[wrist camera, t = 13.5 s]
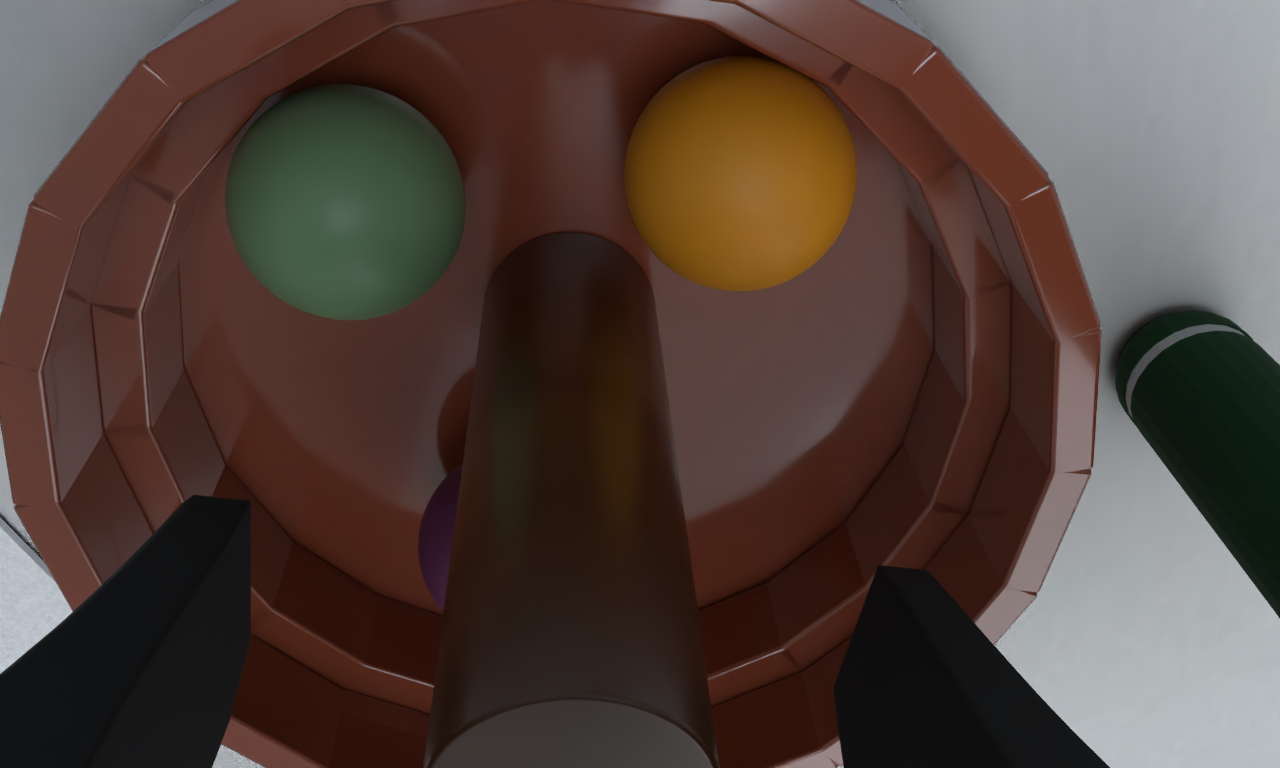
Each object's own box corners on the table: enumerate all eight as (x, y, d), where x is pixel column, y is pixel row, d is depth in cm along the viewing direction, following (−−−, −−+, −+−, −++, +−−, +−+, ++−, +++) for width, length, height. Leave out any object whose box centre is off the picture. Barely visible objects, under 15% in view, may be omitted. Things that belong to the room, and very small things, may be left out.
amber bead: (634, 346, 15) (543, 133, 15) (765, 299, 17) (686, 113, 17) (810, 258, 13) (704, 12, 13) (935, 218, 15) (843, 7, 15)
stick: (471, 366, 18) (400, 880, 10) (499, 215, 17) (444, 675, 9) (633, 394, 18) (679, 908, 11) (673, 249, 17) (758, 716, 10)
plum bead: (413, 633, 19) (368, 585, 16) (472, 467, 20) (438, 397, 17) (587, 681, 19) (570, 641, 16) (638, 509, 20) (629, 443, 17)
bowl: (280, 704, 23) (229, 889, 19) (-65, -33, 15) (-249, 54, 12) (997, 593, 22) (1076, 763, 19) (1004, -228, 15) (1137, -195, 11)
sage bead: (188, 267, 16) (183, 257, 13) (275, 67, 16) (289, 14, 13) (395, 352, 17) (431, 359, 14) (474, 163, 17) (525, 133, 14)
